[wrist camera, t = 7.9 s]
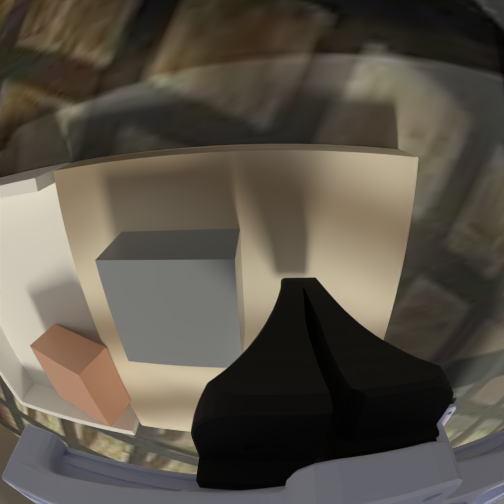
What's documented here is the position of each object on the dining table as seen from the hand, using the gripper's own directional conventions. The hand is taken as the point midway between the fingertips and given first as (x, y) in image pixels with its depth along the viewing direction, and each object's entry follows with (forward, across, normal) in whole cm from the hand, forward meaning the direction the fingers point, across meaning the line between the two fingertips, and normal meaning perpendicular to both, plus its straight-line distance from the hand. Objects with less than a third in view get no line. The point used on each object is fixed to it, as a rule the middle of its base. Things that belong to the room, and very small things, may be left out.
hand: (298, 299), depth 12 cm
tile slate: (+1, +5, 0) cm, 5 cm away
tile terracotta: (+2, +12, +7) cm, 14 cm away
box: (+3, +16, +4) cm, 17 cm away
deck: (+3, +3, +4) cm, 5 cm away
